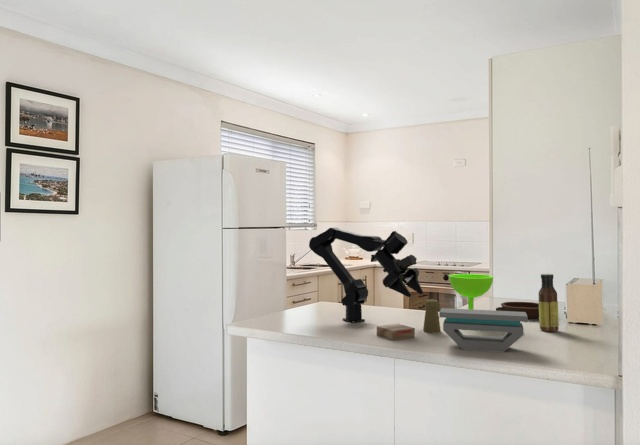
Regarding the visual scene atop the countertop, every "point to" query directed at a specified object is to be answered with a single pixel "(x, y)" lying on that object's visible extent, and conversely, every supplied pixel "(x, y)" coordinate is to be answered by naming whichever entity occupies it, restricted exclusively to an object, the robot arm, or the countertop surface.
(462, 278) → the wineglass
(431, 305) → the olive tall rounded piece
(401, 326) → the tan flat block
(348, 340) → the countertop surface
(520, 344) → the countertop surface
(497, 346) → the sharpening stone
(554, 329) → the sauce bottle
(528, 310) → the dish
